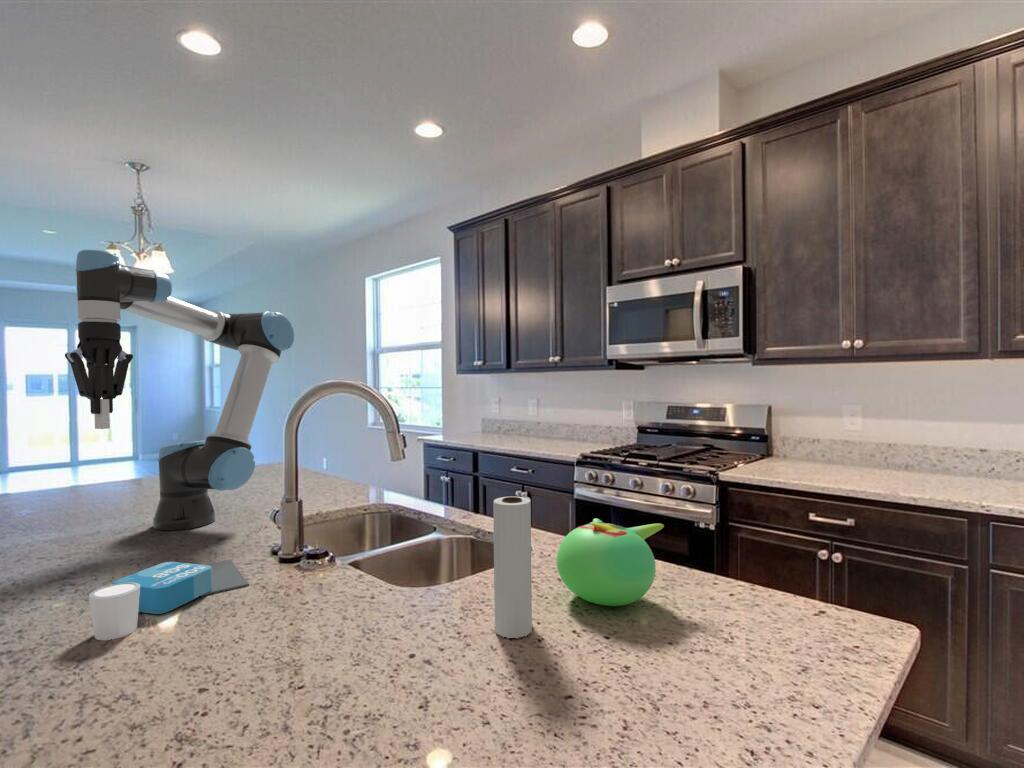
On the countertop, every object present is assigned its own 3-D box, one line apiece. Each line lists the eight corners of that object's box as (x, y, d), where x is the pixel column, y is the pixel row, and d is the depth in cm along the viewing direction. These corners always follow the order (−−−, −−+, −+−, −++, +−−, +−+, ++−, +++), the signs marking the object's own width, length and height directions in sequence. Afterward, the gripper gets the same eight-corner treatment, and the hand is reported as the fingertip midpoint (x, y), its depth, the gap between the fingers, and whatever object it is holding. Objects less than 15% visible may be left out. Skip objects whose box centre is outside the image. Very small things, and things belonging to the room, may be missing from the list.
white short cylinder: (150, 626, 91) (149, 585, 91) (105, 645, 85) (104, 601, 85) (125, 619, 94) (124, 579, 94) (80, 637, 88) (79, 594, 87)
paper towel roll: (505, 643, 84) (503, 505, 83) (488, 627, 89) (487, 497, 89) (545, 632, 87) (544, 499, 87) (527, 618, 93) (525, 492, 92)
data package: (166, 560, 109) (215, 565, 106) (167, 583, 109) (216, 588, 106) (107, 583, 97) (160, 589, 94) (108, 608, 97) (161, 615, 94)
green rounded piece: (539, 600, 100) (538, 520, 99) (592, 574, 112) (591, 503, 112) (625, 631, 87) (625, 540, 87) (674, 598, 100) (674, 519, 100)
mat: (152, 607, 99) (152, 605, 99) (145, 578, 113) (145, 576, 113) (248, 585, 108) (248, 583, 108) (230, 561, 123) (230, 559, 123)
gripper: (119, 324, 128) (121, 425, 128) (55, 320, 116) (58, 431, 116) (140, 323, 125) (143, 426, 125) (77, 318, 113) (80, 432, 113)
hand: (102, 428), depth 121 cm, fingers closed
